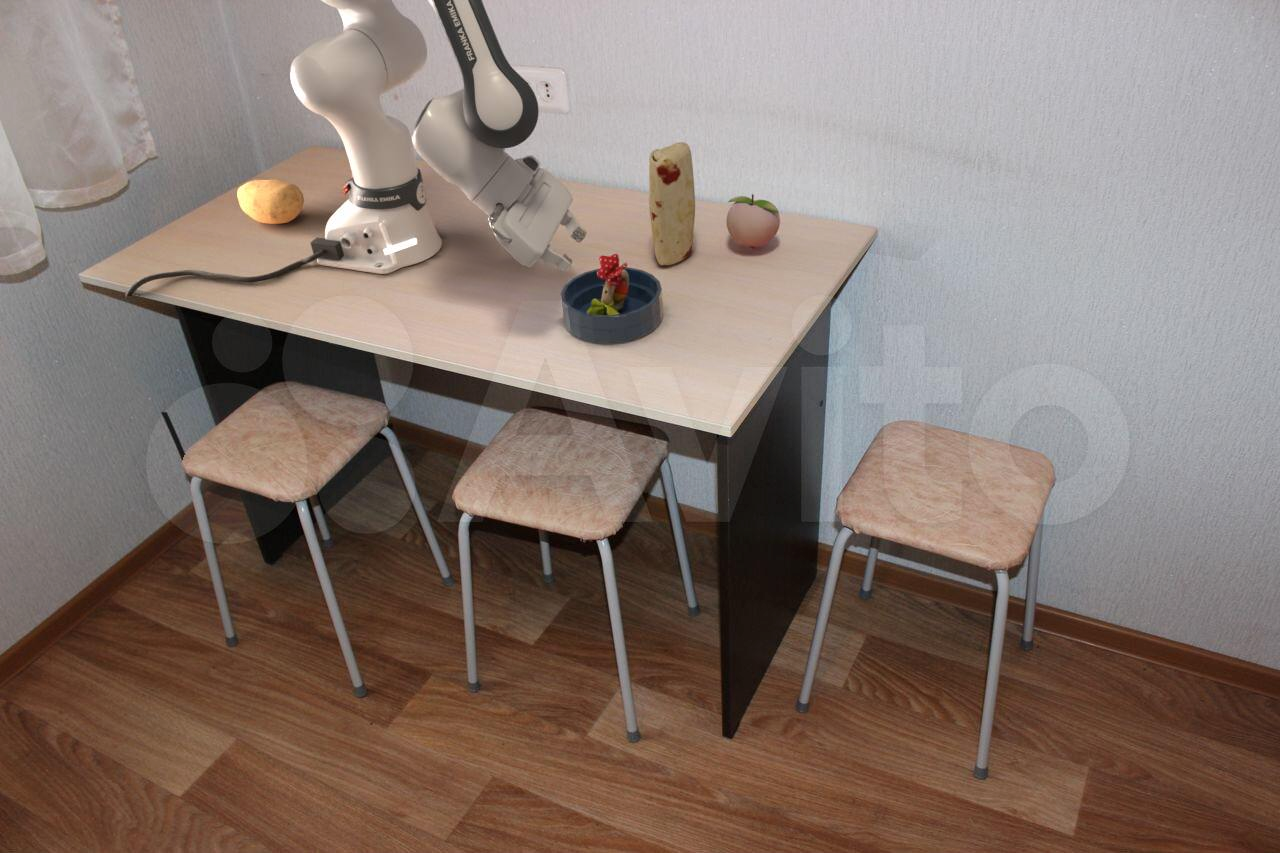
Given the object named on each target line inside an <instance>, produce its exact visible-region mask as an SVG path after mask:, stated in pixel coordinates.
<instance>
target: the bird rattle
mask: <svg viewBox="0 0 1280 853" xmlns="http://www.w3.org/2000/svg"><path fill="white" fill-rule="evenodd" d="M598 259H599V264H600V267H599V268H600V269H599V268H598V269H599V270H598V271H597V275H598V277H599V278H600V279H602V280H605V282H606V283H605V285H604V289H603V293H602V299H601V303H600V302H599V300H597V299H593V300H592V301H591V307H590V308H589V309H588V310H587V312H586V313H588V314H592V315H617V314H620V313H618V312H617V311H618V310H619V309H622V308H623V304H624V301H625V298H626V297H627V294H628V287H629V275H628V273H627V271H626V270H624V269H625V268H626V267H628V263H627V262H624V263H622V264H621V265H620V257H619V254H618V253H613V254H612V255H602V254H601V255H600V256H599V257H598Z"/></svg>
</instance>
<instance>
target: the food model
mask: <svg viewBox="0 0 1280 853" xmlns="http://www.w3.org/2000/svg"><path fill="white" fill-rule="evenodd" d="M648 160H649V166H648V170H649V174H648V175H649V176H648V179H649V192H648V193H649V196H648V197H649V199H648V206H649V207H648V208H649V215H650V217H649V218H650V225H651V234H652V241H653V249H654V253H655V258H656V261H657V263H658V265H660V266H671V265H675V264H677V263H679V262H681V261H684V260H685V259H686V258H687V257H689V255H691V254H692V250H693V242H694V232H695V216H696V192H695V190H696V189H695V177H694V176H695V175H694V167H693V157H692V151H691V148H690V146H689V144H688V143H687V142H683V141H682V142H675V143H673V144H670V145H668V146H666V147H662V148H656V149H654V150H652V151H651V152H650V154H649V159H648Z"/></svg>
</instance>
